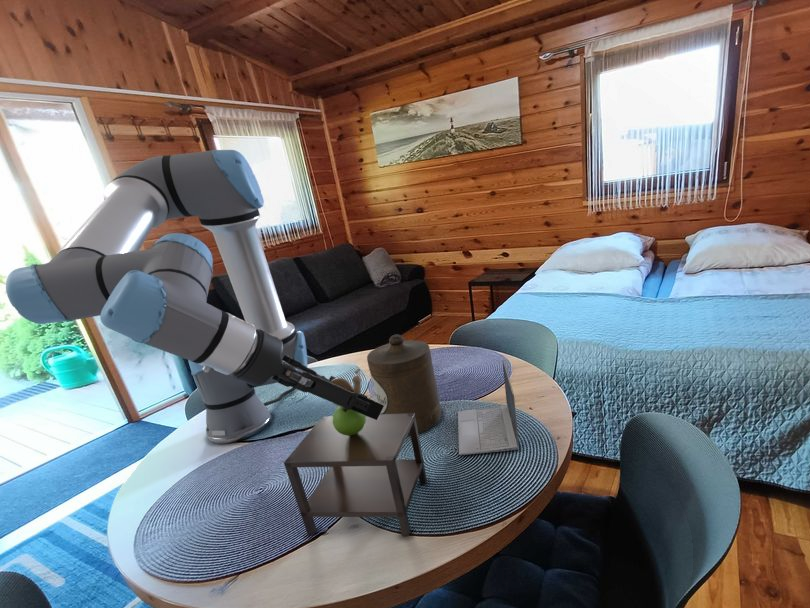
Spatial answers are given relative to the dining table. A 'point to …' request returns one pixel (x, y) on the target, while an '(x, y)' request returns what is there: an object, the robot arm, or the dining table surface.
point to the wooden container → (405, 380)
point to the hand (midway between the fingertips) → (370, 407)
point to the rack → (359, 470)
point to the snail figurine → (351, 419)
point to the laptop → (489, 426)
